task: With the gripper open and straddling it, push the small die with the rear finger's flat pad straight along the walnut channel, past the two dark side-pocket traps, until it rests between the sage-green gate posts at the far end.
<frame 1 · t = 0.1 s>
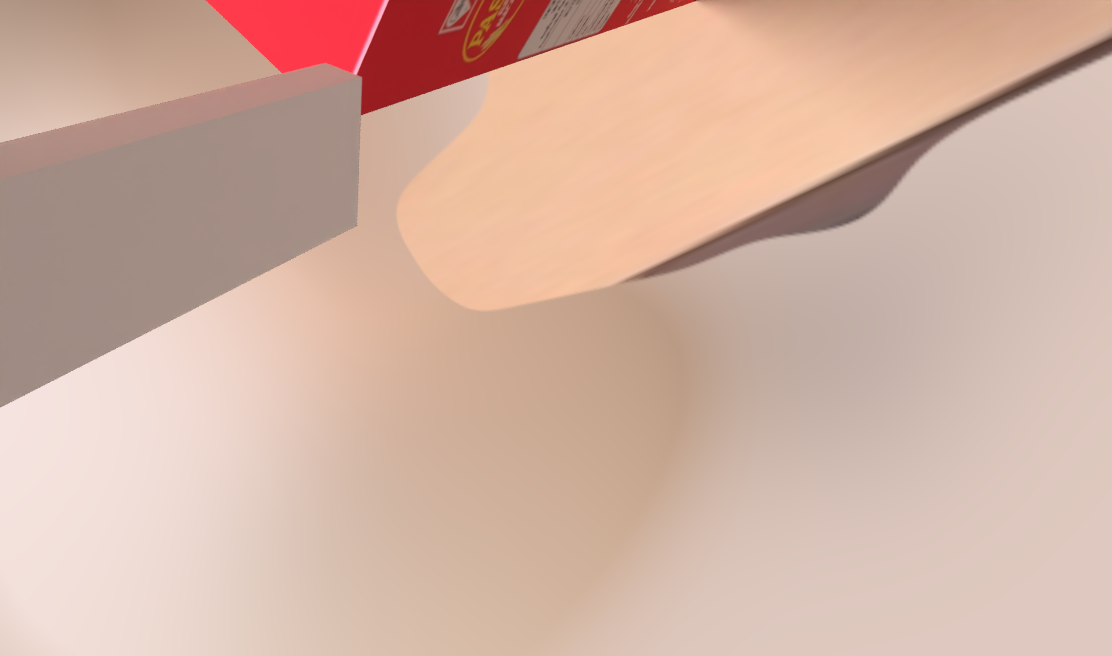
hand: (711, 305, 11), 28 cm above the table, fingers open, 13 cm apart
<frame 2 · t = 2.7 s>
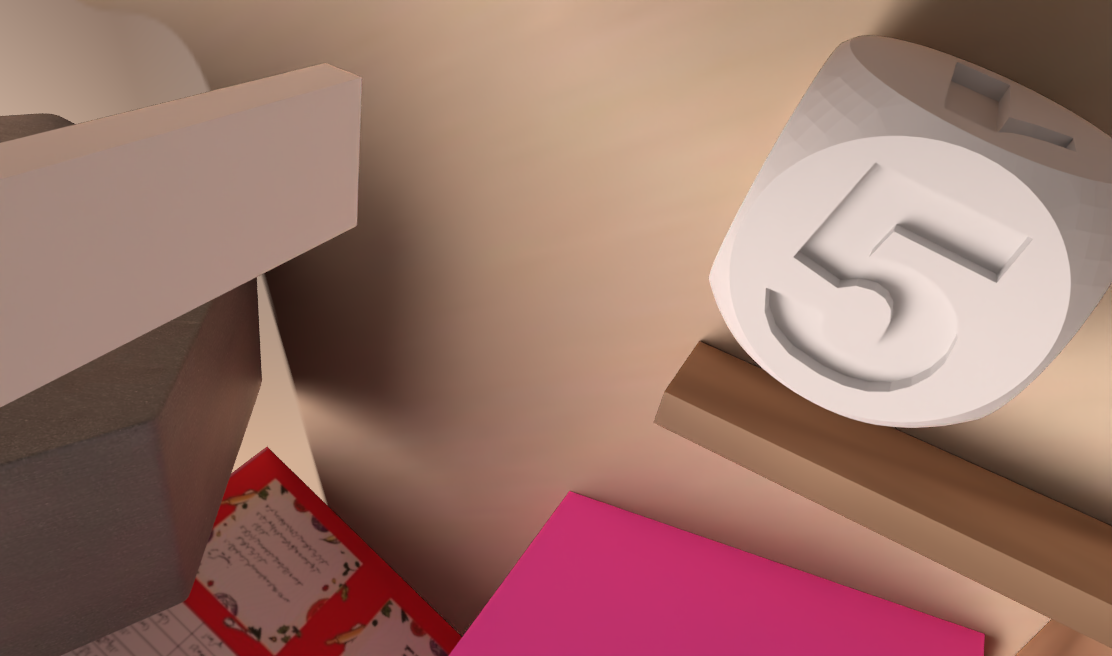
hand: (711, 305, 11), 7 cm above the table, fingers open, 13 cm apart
food packaging: (371, 584, 34), on the table
die: (916, 185, 15), on the table
planter: (178, 255, 29), on the table
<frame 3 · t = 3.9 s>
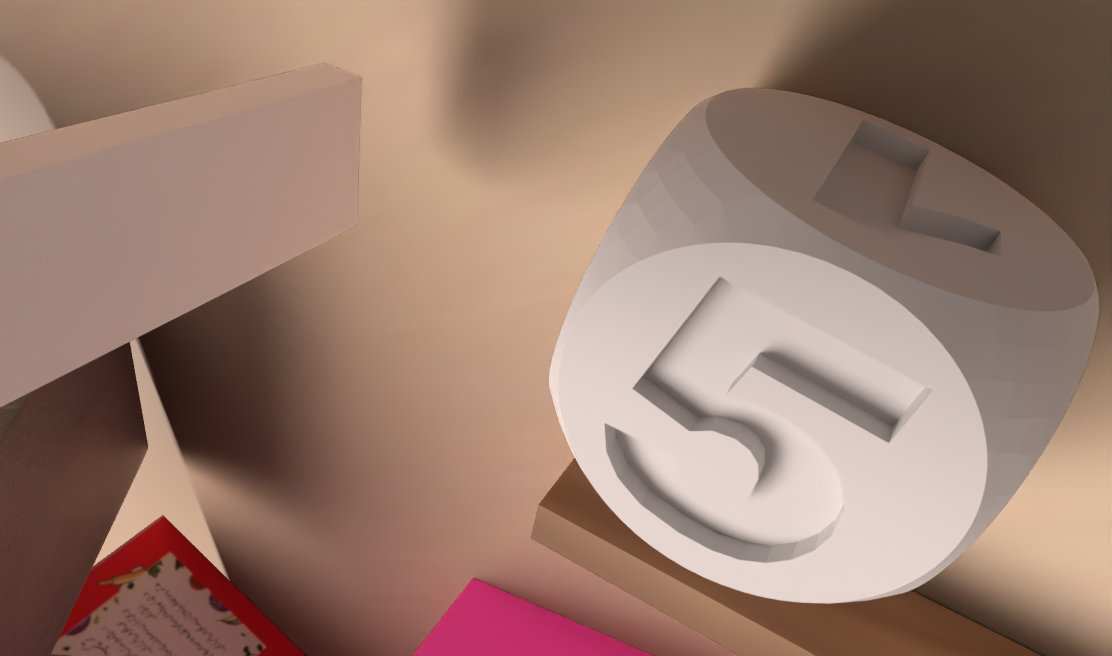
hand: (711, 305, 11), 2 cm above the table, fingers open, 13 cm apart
die: (829, 263, 12), on the table
planter: (51, 309, 26), on the table
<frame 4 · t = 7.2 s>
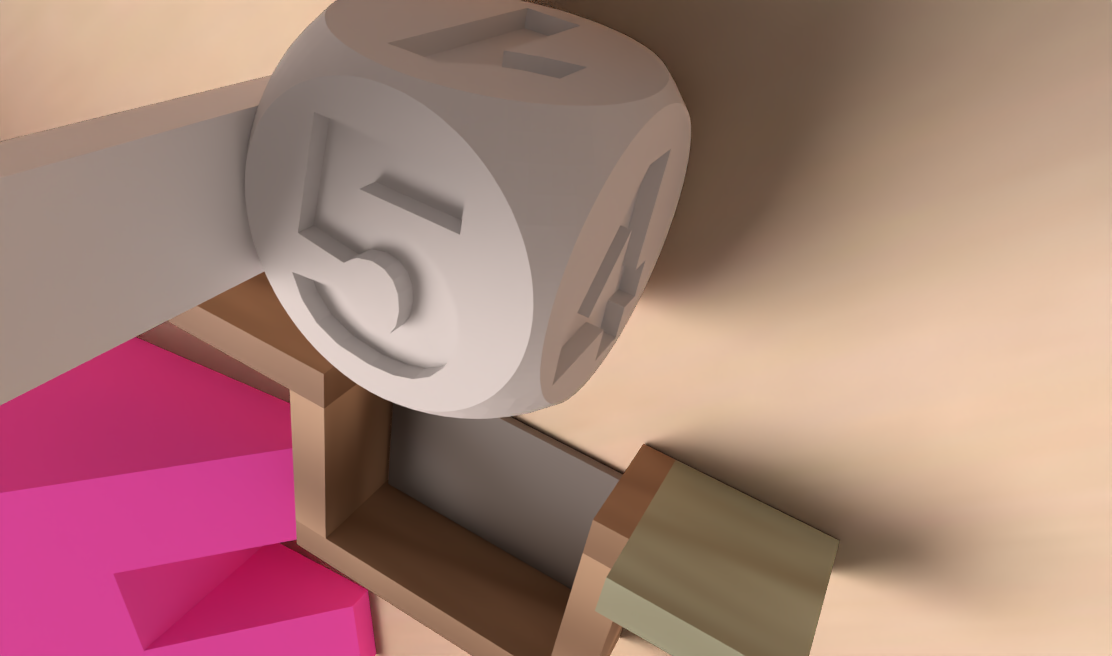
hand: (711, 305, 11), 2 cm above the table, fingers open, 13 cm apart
die: (559, 153, 14), on the table, touching gripper
bracket: (234, 479, 26), on the table
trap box: (400, 92, 15), on the table
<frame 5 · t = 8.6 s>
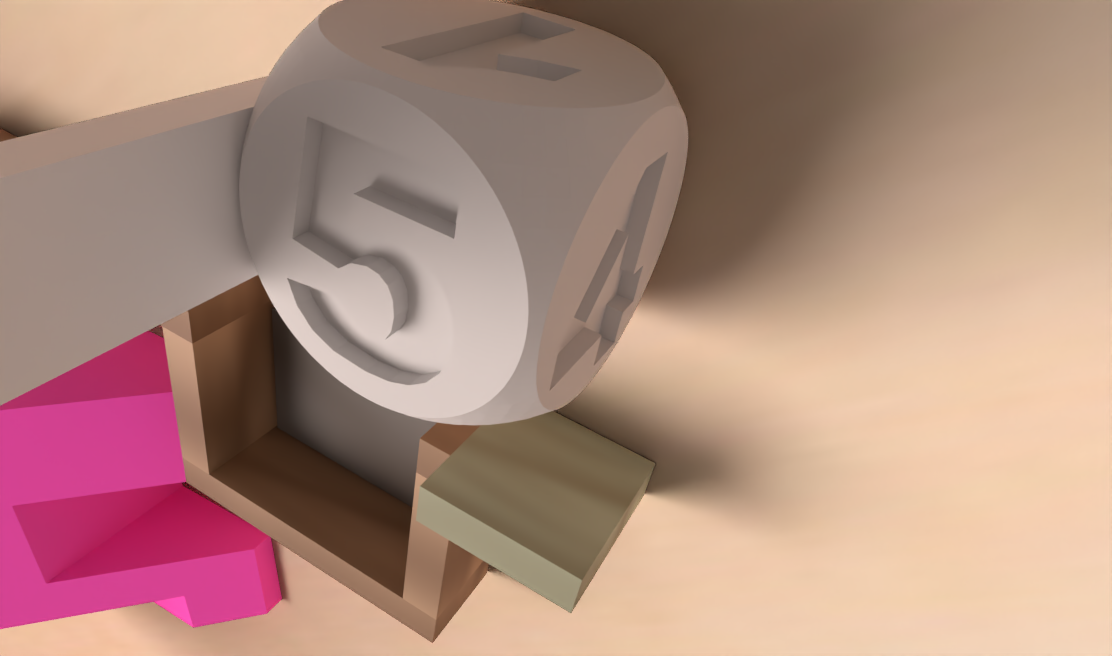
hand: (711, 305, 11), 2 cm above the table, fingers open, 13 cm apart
die: (557, 158, 14), on the table, touching gripper
bracket: (148, 427, 27), on the table
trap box: (252, 42, 16), on the table
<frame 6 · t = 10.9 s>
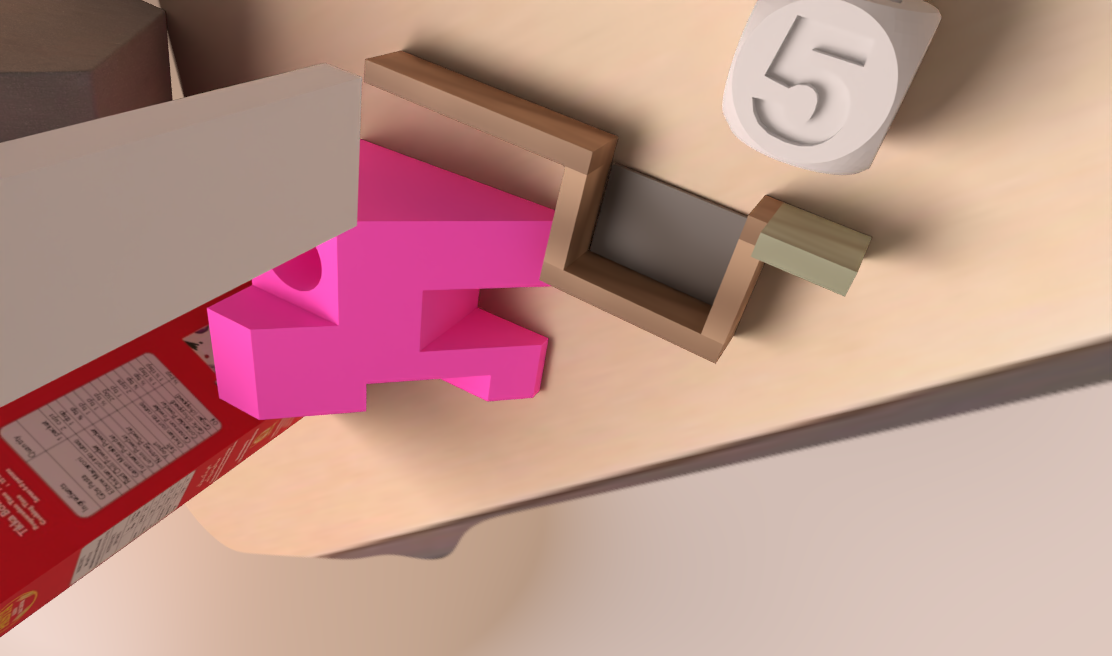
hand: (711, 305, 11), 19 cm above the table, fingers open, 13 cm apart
food packaging: (254, 303, 48), on the table
die: (841, 57, 26), on the table
planter: (120, 53, 44), on the table
bracket: (456, 265, 39), on the table
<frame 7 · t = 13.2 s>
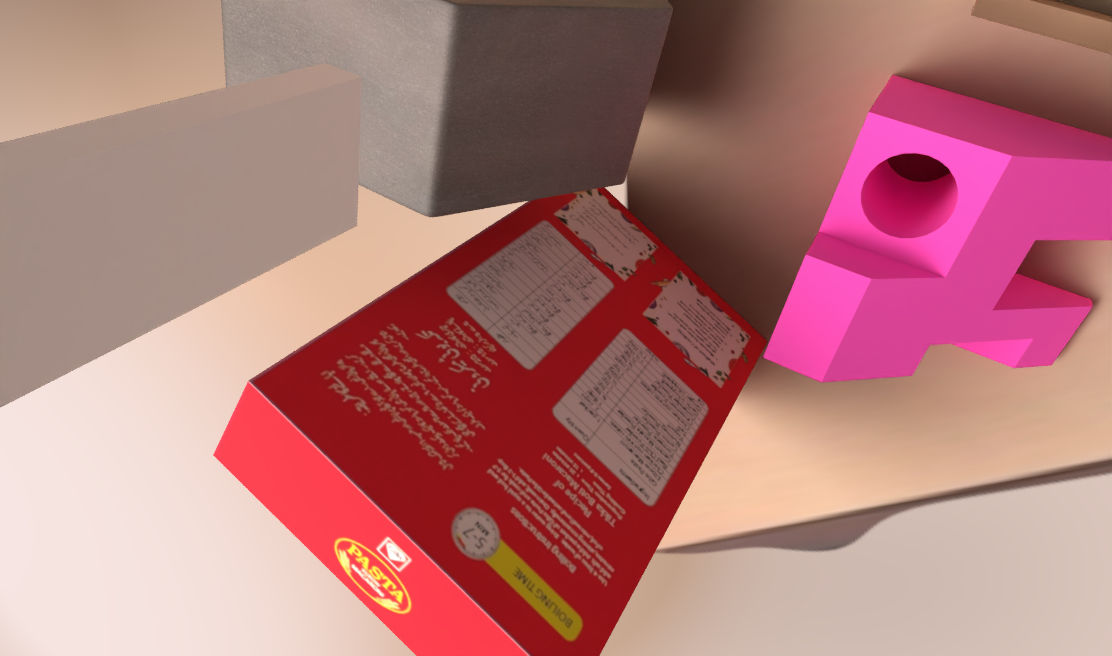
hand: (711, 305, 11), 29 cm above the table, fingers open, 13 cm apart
food packaging: (648, 279, 45), on the table
planter: (543, 8, 40), on the table
bracket: (974, 218, 35), on the table
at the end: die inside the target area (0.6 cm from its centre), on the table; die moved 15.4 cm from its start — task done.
